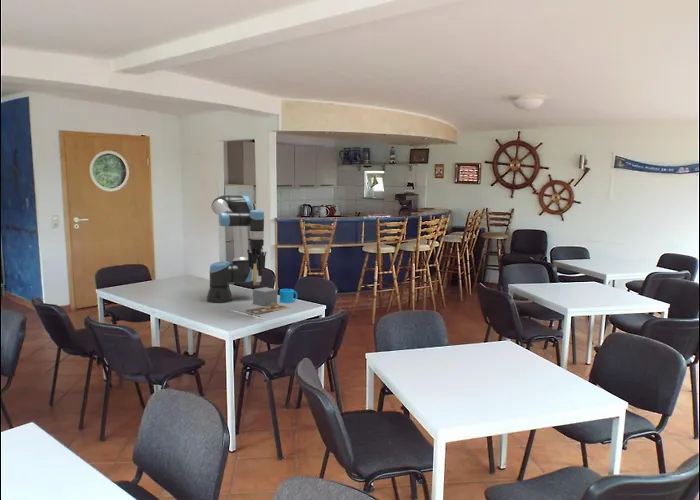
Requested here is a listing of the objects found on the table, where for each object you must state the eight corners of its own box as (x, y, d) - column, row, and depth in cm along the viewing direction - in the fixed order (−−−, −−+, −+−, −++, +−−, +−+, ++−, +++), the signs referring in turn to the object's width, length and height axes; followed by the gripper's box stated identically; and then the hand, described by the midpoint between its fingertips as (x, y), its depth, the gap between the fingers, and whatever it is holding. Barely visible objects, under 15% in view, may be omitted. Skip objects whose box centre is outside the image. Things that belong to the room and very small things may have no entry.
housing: (252, 305, 310) (253, 289, 309) (265, 302, 318) (265, 287, 316) (264, 308, 304) (264, 292, 302) (277, 305, 311) (277, 289, 310)
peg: (251, 284, 287) (252, 263, 286) (256, 284, 290) (256, 262, 289) (256, 285, 285) (256, 264, 284) (260, 284, 288) (261, 263, 286)
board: (261, 309, 301) (261, 302, 300) (276, 306, 310) (277, 299, 309) (275, 313, 293) (275, 305, 293) (291, 309, 302) (291, 302, 302)
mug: (284, 305, 312) (284, 292, 311) (277, 302, 318) (277, 289, 317) (301, 303, 320) (301, 290, 319) (293, 300, 326) (293, 287, 325)
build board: (245, 313, 291) (245, 310, 291) (260, 309, 300) (260, 307, 299) (258, 316, 284) (258, 313, 284) (273, 313, 293) (273, 310, 292)
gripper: (241, 237, 287) (241, 279, 290) (261, 240, 277) (261, 284, 279) (252, 237, 293) (251, 278, 295) (272, 239, 282) (271, 282, 285)
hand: (256, 281), depth 287 cm, fingers closed on peg, 3 cm apart
